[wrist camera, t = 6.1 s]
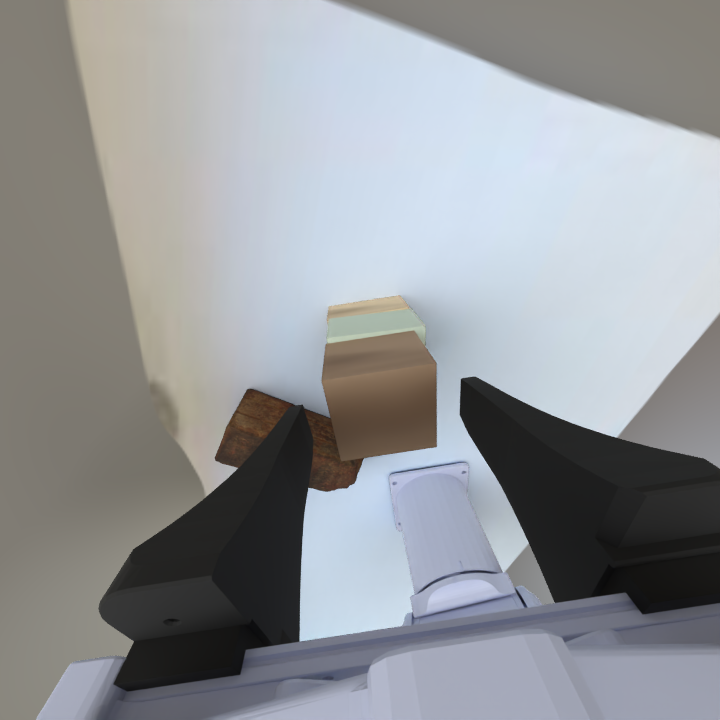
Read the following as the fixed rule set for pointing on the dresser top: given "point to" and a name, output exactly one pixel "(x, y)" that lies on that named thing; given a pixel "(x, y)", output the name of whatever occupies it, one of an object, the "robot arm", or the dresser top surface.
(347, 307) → the oak block
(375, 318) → the sage block
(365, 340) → the walnut block
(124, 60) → the dresser top surface
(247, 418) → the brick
